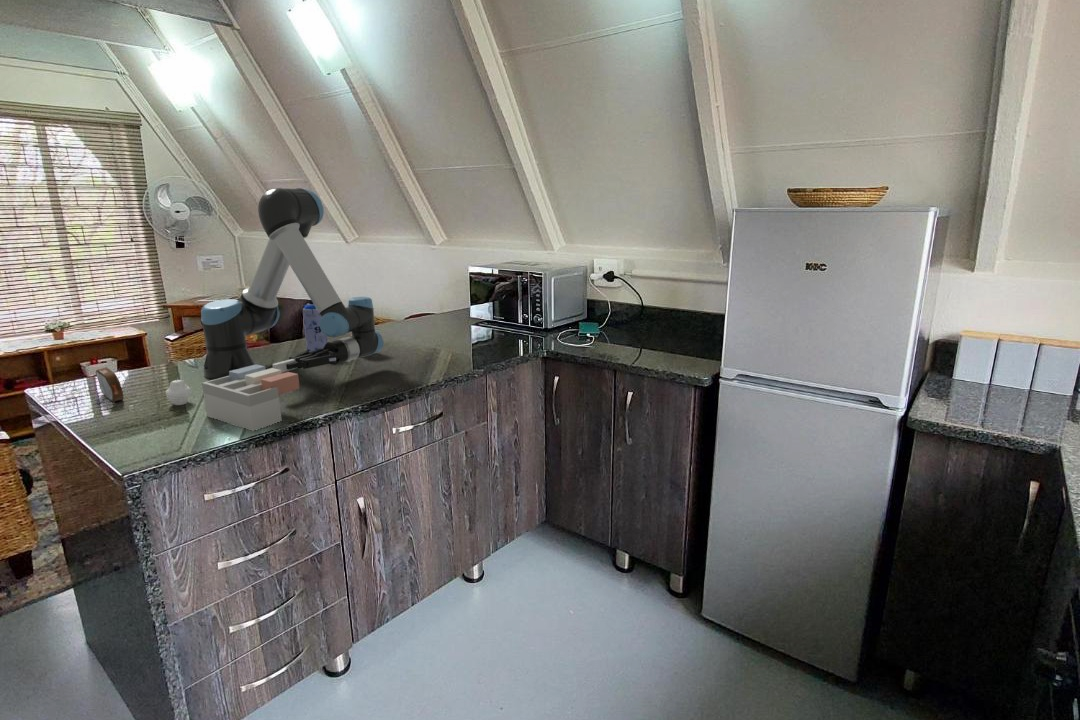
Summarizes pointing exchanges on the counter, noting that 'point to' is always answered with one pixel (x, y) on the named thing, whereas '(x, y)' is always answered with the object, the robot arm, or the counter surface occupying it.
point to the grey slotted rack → (241, 403)
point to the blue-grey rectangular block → (245, 372)
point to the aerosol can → (313, 328)
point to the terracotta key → (281, 382)
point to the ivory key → (261, 376)
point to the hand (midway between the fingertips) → (274, 369)
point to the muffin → (178, 392)
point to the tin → (109, 384)
